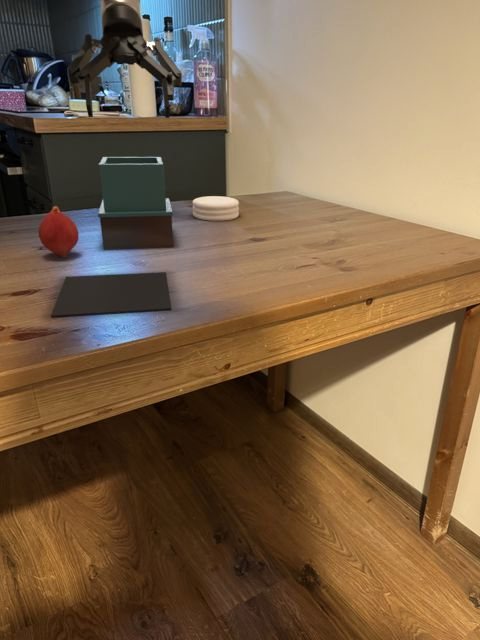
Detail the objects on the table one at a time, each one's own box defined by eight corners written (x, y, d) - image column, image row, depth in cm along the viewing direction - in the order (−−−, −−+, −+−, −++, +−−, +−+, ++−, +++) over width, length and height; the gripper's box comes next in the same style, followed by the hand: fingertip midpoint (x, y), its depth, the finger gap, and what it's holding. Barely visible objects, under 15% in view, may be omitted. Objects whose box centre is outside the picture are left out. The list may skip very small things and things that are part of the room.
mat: (66, 279, 71) (65, 276, 70) (166, 274, 74) (165, 271, 73) (51, 318, 59) (50, 315, 58) (171, 311, 61) (171, 308, 61)
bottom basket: (107, 233, 94) (103, 202, 91) (169, 231, 96) (168, 201, 93) (103, 250, 84) (99, 217, 81) (173, 248, 86) (171, 215, 83)
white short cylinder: (246, 219, 107) (247, 202, 105) (203, 223, 102) (203, 206, 101) (226, 210, 114) (226, 194, 113) (186, 213, 110) (185, 197, 108)
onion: (35, 259, 78) (25, 207, 75) (60, 250, 83) (51, 201, 80) (65, 264, 77) (56, 211, 73) (89, 254, 82) (81, 204, 78)
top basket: (102, 202, 91) (97, 156, 88) (169, 201, 94) (166, 156, 90) (98, 217, 81) (91, 165, 77) (172, 215, 83) (169, 165, 80)
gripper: (48, -1, 89) (50, 94, 83) (187, 7, 94) (199, 96, 88) (57, 36, 96) (60, 126, 90) (186, 42, 101) (197, 127, 95)
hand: (129, 112), depth 89 cm, fingers open, 13 cm apart
